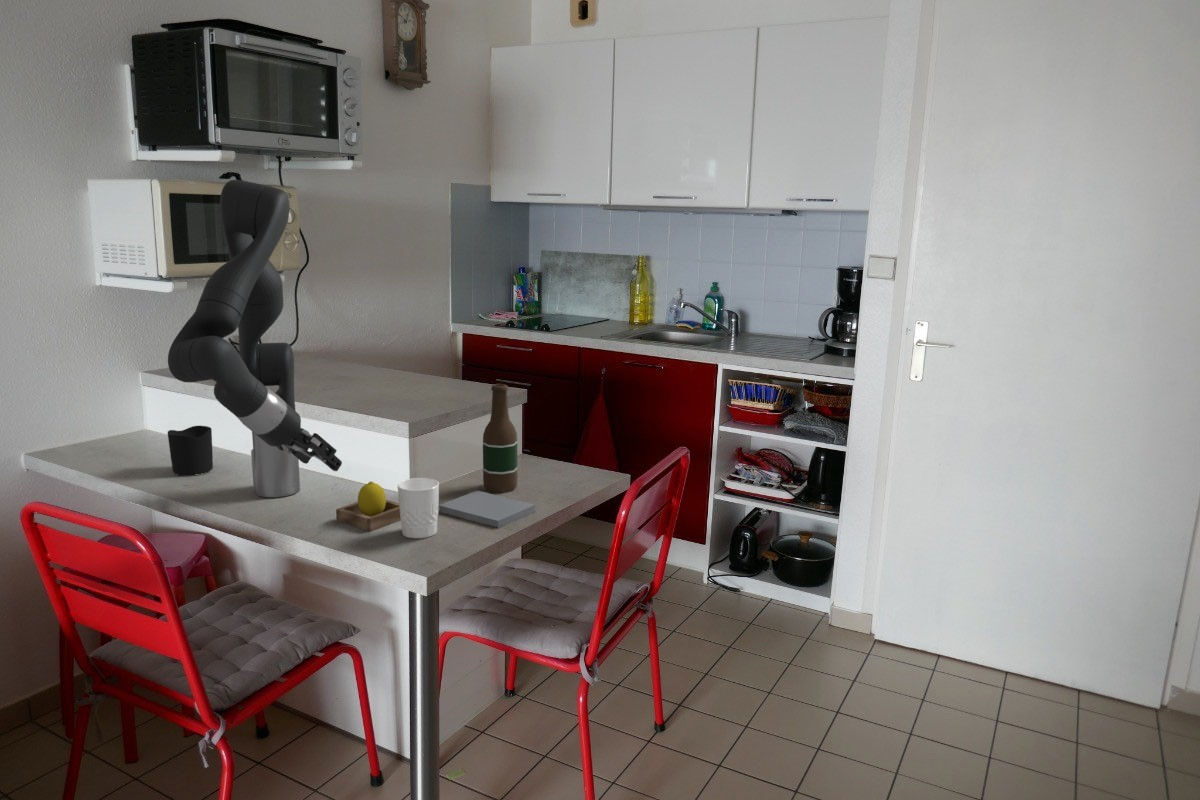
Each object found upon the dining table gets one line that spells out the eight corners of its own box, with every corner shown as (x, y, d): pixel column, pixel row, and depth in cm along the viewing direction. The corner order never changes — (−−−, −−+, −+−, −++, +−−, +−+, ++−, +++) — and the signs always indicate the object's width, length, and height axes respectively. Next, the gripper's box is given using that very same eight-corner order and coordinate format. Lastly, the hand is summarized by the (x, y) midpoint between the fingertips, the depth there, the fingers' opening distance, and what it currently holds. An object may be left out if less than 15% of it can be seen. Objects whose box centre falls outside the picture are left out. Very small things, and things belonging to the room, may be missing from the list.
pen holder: (207, 476, 205) (204, 435, 203) (165, 477, 204) (161, 435, 202) (219, 465, 214) (216, 425, 212) (179, 465, 213) (175, 425, 211)
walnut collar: (336, 520, 178) (336, 509, 178) (374, 507, 186) (373, 496, 186) (371, 531, 173) (370, 519, 172) (408, 517, 181) (407, 505, 180)
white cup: (442, 525, 177) (441, 477, 174) (436, 540, 169) (435, 490, 167) (403, 525, 176) (401, 477, 174) (395, 540, 169) (393, 490, 166)
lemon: (360, 514, 182) (359, 477, 180) (388, 514, 182) (386, 477, 181) (356, 524, 176) (354, 486, 175) (384, 523, 177) (383, 485, 175)
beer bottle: (484, 494, 196) (483, 388, 191) (482, 483, 204) (480, 381, 198) (519, 492, 198) (519, 387, 192) (515, 482, 205) (515, 381, 200)
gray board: (439, 512, 184) (439, 505, 184) (477, 497, 194) (477, 490, 194) (498, 528, 176) (498, 520, 175) (534, 511, 185) (535, 504, 185)
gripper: (305, 403, 153) (359, 452, 165) (254, 393, 160) (309, 440, 172) (281, 439, 150) (338, 487, 161) (230, 427, 157) (288, 473, 169)
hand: (323, 463), depth 167 cm, fingers open, 8 cm apart
